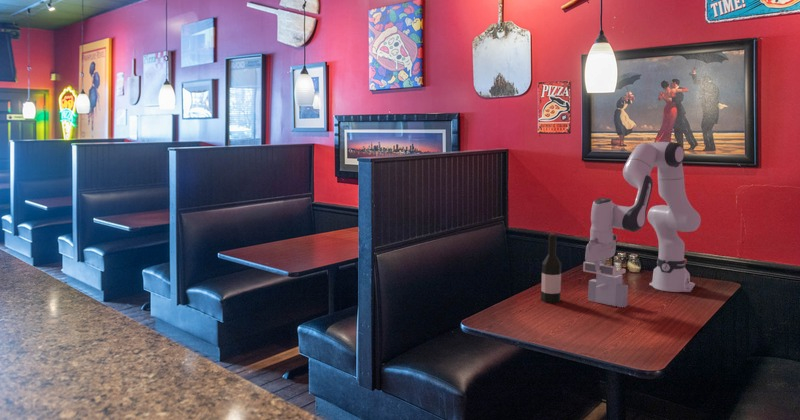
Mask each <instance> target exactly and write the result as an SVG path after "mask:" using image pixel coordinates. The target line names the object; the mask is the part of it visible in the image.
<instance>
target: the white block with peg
mask: <svg viewBox="0 0 800 420" xmlns="http://www.w3.org/2000/svg"><path fill="white" fill-rule="evenodd" d="M595 274H596V273H595ZM623 275H624V274H621V275H618V276H615V277H613V276H607V275H602V274H596V275H595V276H596V277H595V278H592V279H590V280H588V286H587V288H588V292H587V302H593V303H597V304H603V305H608V306H611V305H612V306H611V307H616V306H617V308H621V307H622V308H621V309H624V308H626V307H628V299H629V298H628V294H629V285H627V284H623V278H624V277H623ZM625 306H626V307H625ZM623 307H624V308H623Z"/></svg>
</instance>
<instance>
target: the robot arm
mask: <svg viewBox="0 0 800 420" xmlns="http://www.w3.org/2000/svg"><path fill="white" fill-rule="evenodd" d="M685 153H686V152H685V149H684V147H683V146H682V145H681V143H679V142H676V141H675V142H674V141H671V142H669V141H668V142H667V141H656V142H655V141H654V142H642V143H639V144H637V145H636V147H634V149H633V150H632V152H631V153H630V154H629V157H628V158H627V160H626V161H625V164H624V167H623V169H622V176H623V178H624V180H625V181H626V182H627V183H628V184H629V185H630V186H632V187H633V188H635V189H637V192H636V197H635V201H634V204H633V205H631V206H625V205H618V204H616V203H614V202H613V200H612V199H611V198H608V197H601V198H597V199H594V200H593V202H592V206H591V212H590V221H591V227H590V228H589V242H588V243H587V245H586V247H585V255H584V256H585V257H584V260H585V262H591V263H594V264H595V270H597V271H599V270H601V266H600V264H603V265H606V262H607V259H609V258H613V257H614V256H615V254H616V249H617V246H616V245H617V240H618V235H617V234H615V233H614V232H613V228H614V229H620V230H625V231H628V232H632V233H636V232H638V231H640V230H641V229H642V228H643V227H644V226H645V223H646V220H647V221H648V223H649V224H650V225H651V226H652V228H653V230H654V232H655V233H656V234H655V235H656V237H657V240H658V257H657V260H656V267H654V268H653V271H652V272H653V273H652V280H651V282H649V286H651V287H653V288H654V289H655V290H659V291H662V292H669V293H670V292H671V293H672V292H673V293H682V292H683V293H690V292H692V290H693V289H694V287H695V286H696V283H695V282H691V274H690V272H689V271H688V270H687V268H686V264H687V262H688V260H687V258H685V250H686V249H685V248H686V246H685V245H686V244H685V242H684V240H683V239H682V238H681V237H680V236H679V235H678V232H681V233H682V232H683V233H687V232H690V233H691V232H695V231H697V230H698V229H699V227H700V225H701V220H702V219H701V216H700V213H699V212H698V211H697V210H696V209H695V208H694V207H693V205H691V203H690V201H689V199H688V197H687V192H686V186H685V175H684V174H685V173H684V166H683V161H684V159H685ZM655 167H656V168H657V185H658V187H657V188H658V195H659V196H660V198H662V200H664V201H665V203H666V204H659V205H654V206H651V207H650V208H649V210H648V207H649V203H650V199H651V195H652V192H653V186H654V182H653V181H654V180H653V178H652V177H651V173H652V171H653V169H654V168H655ZM647 210H648V212H647ZM646 216H647V219H646Z"/></svg>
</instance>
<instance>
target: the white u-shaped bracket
mask: <svg viewBox="0 0 800 420" xmlns="http://www.w3.org/2000/svg"><path fill="white" fill-rule="evenodd" d="M582 265H583V266H582V271H583V272H585V273H591V274H602V275H607V276H613V277H615V276H618V275H624V274H625V273H626V268H621V269H618V270H617V266H616V265H615V266H614V265H608V264H605V265H603V264H600V266H601V270H599V271H597V270H595V264H594V263H591V262H586V261H583V264H582Z"/></svg>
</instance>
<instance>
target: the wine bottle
mask: <svg viewBox="0 0 800 420" xmlns="http://www.w3.org/2000/svg"><path fill="white" fill-rule="evenodd" d="M547 237H548V239H547V243H548V244H547V255H546V256H545V258H544V260H543V261H542V263H541V289H540V290H541V291H540V292H541V293H540V301H542V302H544V303H546V304H547V303H548V304H557V303H560V302H561V294H562V293H561V292H562V291H561V290H562V289H561V287H562V285H561V284H562V262H561V261H560V258H559V257H558V255H557V235H556V233H555V232H554V233H553V232H550V233H549V234H548V236H547Z"/></svg>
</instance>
